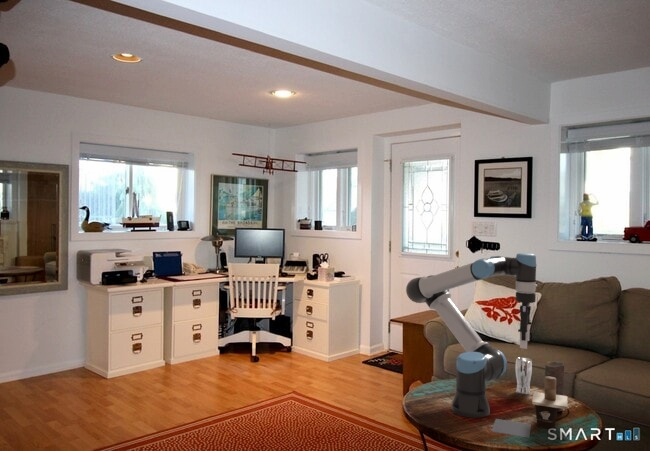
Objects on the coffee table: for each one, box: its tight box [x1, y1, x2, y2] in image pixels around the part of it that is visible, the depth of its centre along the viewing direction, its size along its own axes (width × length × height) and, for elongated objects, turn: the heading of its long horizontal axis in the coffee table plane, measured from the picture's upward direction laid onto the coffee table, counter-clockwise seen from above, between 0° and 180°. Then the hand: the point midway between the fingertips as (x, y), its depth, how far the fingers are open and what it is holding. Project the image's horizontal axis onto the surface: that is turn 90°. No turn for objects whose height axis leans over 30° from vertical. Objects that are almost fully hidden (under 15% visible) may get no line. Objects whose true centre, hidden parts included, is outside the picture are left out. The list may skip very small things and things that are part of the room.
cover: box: [531, 376, 569, 410], centre depth 201 cm, size 12×12×9 cm
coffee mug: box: [534, 405, 570, 429], centre depth 201 cm, size 12×9×10 cm
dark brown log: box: [543, 361, 565, 412], centre depth 218 cm, size 8×7×20 cm
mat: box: [491, 418, 532, 439], centre depth 199 cm, size 13×13×1 cm
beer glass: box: [515, 357, 533, 395], centre depth 240 cm, size 7×7×15 cm
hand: (524, 344), depth 213 cm, fingers open, 13 cm apart
